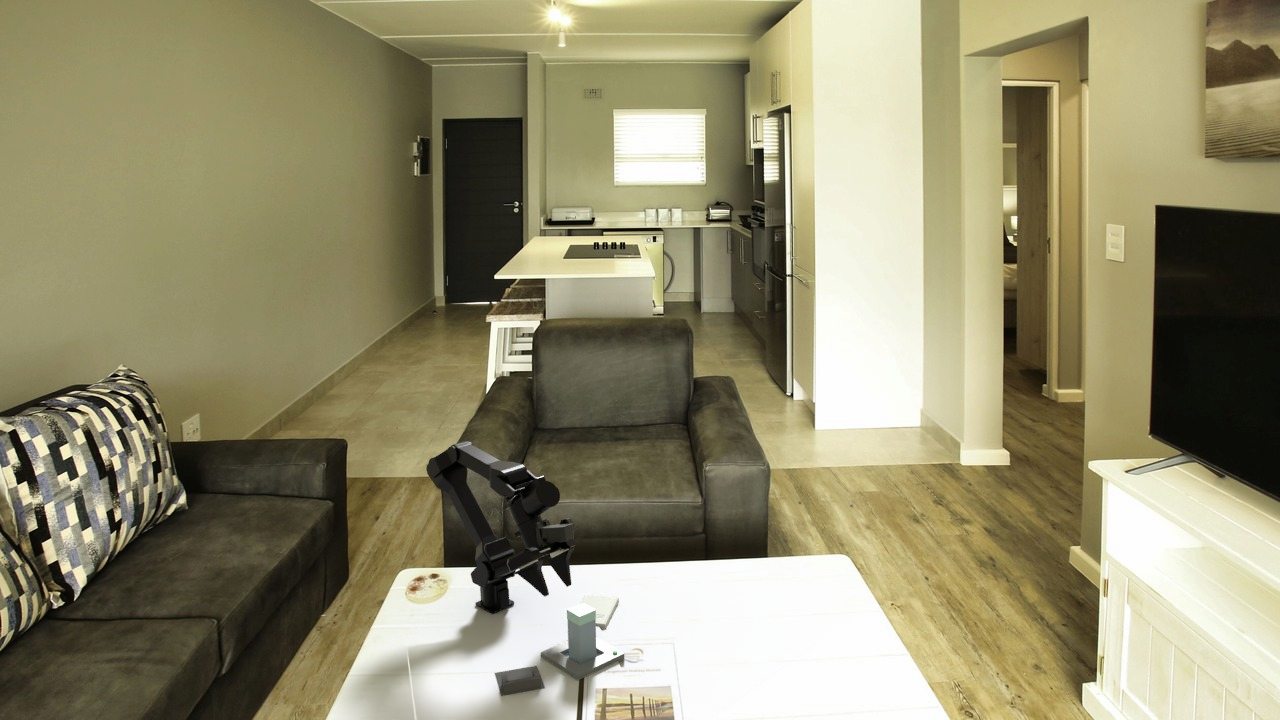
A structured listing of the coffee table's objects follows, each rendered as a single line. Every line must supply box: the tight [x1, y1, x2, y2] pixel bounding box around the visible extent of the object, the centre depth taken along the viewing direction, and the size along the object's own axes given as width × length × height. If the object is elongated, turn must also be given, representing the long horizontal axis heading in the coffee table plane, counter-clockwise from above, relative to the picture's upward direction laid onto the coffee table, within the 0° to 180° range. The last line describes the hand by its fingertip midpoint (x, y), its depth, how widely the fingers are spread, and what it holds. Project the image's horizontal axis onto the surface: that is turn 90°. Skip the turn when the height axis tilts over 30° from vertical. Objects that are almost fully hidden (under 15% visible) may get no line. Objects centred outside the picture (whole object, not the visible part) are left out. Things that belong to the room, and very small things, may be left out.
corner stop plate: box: [494, 665, 546, 697], centre depth 181 cm, size 8×8×2 cm
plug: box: [566, 603, 598, 665], centre depth 188 cm, size 4×4×11 cm
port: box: [540, 636, 625, 681], centre depth 189 cm, size 12×12×2 cm
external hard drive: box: [579, 594, 620, 629], centre depth 208 cm, size 2×8×12 cm
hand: (558, 590), depth 195 cm, fingers open, 9 cm apart
